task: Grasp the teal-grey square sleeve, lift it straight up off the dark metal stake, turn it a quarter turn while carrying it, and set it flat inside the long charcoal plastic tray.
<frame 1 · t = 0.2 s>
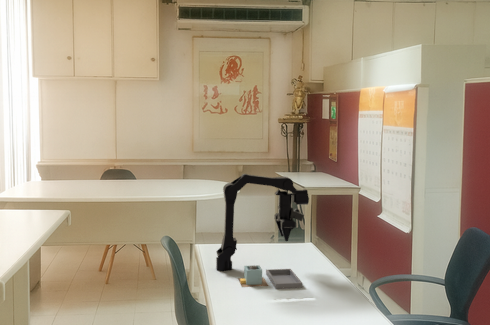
hand: (284, 238, 225), 14 cm above the table, fingers open, 9 cm apart
stake: (252, 284, 206), on the table
tray: (283, 283, 208), on the table
sleeve: (252, 282, 206), point 1 cm above the table, touching stake
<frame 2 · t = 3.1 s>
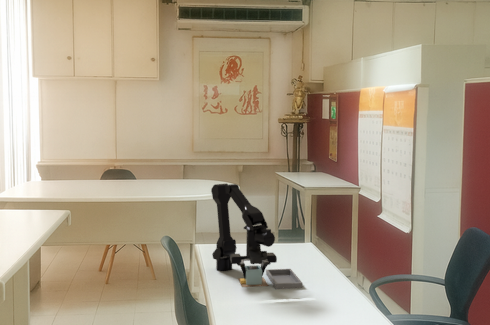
hand: (252, 278, 205), 3 cm above the table, fingers closed on sleeve, 6 cm apart
sleeve: (252, 282, 206), point 1 cm above the table, touching gripper, stake
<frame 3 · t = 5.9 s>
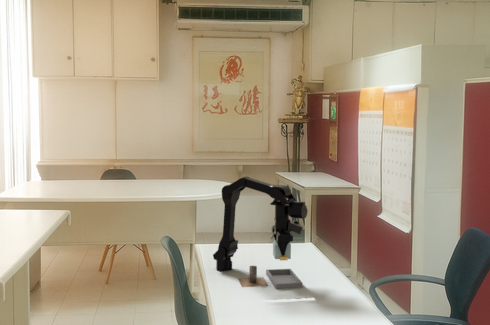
hand: (281, 253, 206), 13 cm above the table, fingers closed on sleeve, 6 cm apart
sleeve: (281, 256, 206), point 11 cm above the table, touching gripper
when the fingers open (4 cm above the table, at t = 8.6 s): sleeve drops 1 cm, resting on tray.
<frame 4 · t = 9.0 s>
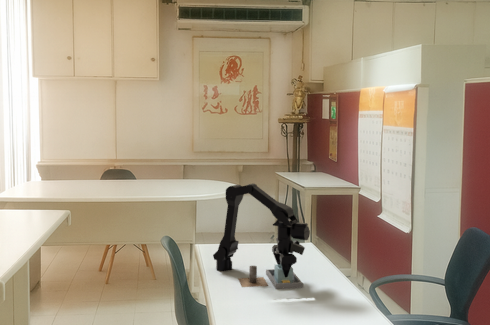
hand: (283, 273, 207), 4 cm above the table, fingers open, 9 cm apart
sleeve: (283, 280, 208), point 1 cm above the table, touching tray
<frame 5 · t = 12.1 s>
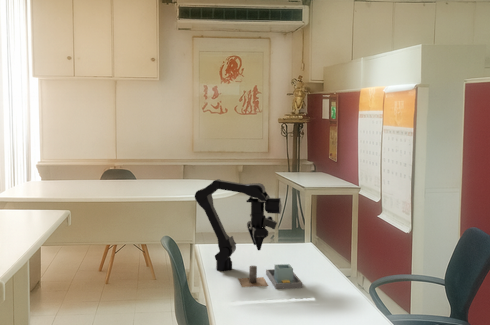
hand: (257, 247, 218), 12 cm above the table, fingers open, 9 cm apart
nothing on the table moved.
at the end: sleeve inside the target area on the tray (0.0 cm from its centre), point 1.0 cm above the tray's base; sleeve tilted 0°; the gripper is holding nothing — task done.
